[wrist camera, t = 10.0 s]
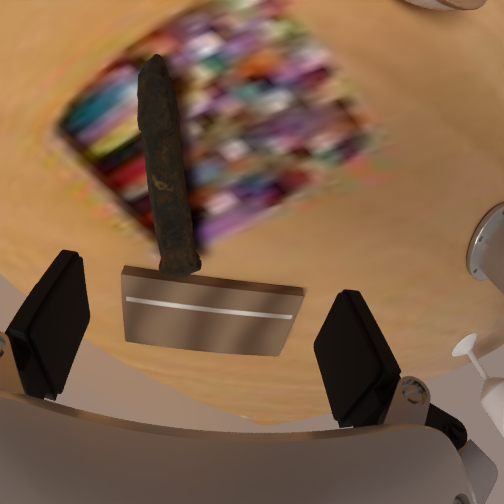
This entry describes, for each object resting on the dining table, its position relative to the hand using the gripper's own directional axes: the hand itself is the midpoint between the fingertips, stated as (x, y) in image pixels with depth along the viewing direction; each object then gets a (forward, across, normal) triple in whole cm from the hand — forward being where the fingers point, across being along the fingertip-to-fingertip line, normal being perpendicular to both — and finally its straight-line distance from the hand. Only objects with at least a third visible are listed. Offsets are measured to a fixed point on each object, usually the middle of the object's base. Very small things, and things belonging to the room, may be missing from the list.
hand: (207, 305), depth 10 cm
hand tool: (+18, +5, 0) cm, 18 cm away
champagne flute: (+19, -52, +22) cm, 59 cm away
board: (+17, -2, +16) cm, 24 cm away
